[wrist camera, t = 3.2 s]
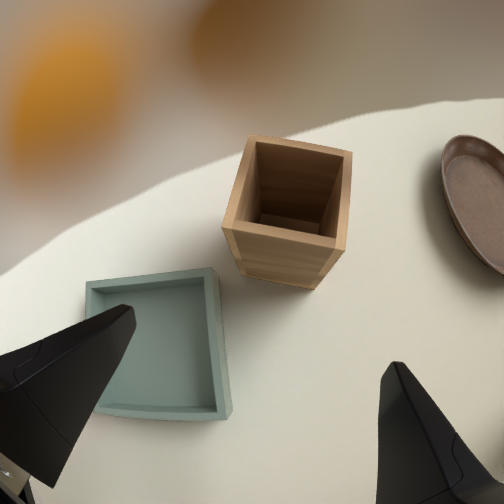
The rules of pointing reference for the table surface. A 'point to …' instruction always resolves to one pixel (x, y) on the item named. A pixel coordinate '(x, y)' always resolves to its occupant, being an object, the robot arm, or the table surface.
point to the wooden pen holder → (289, 210)
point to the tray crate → (167, 347)
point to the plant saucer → (476, 195)
